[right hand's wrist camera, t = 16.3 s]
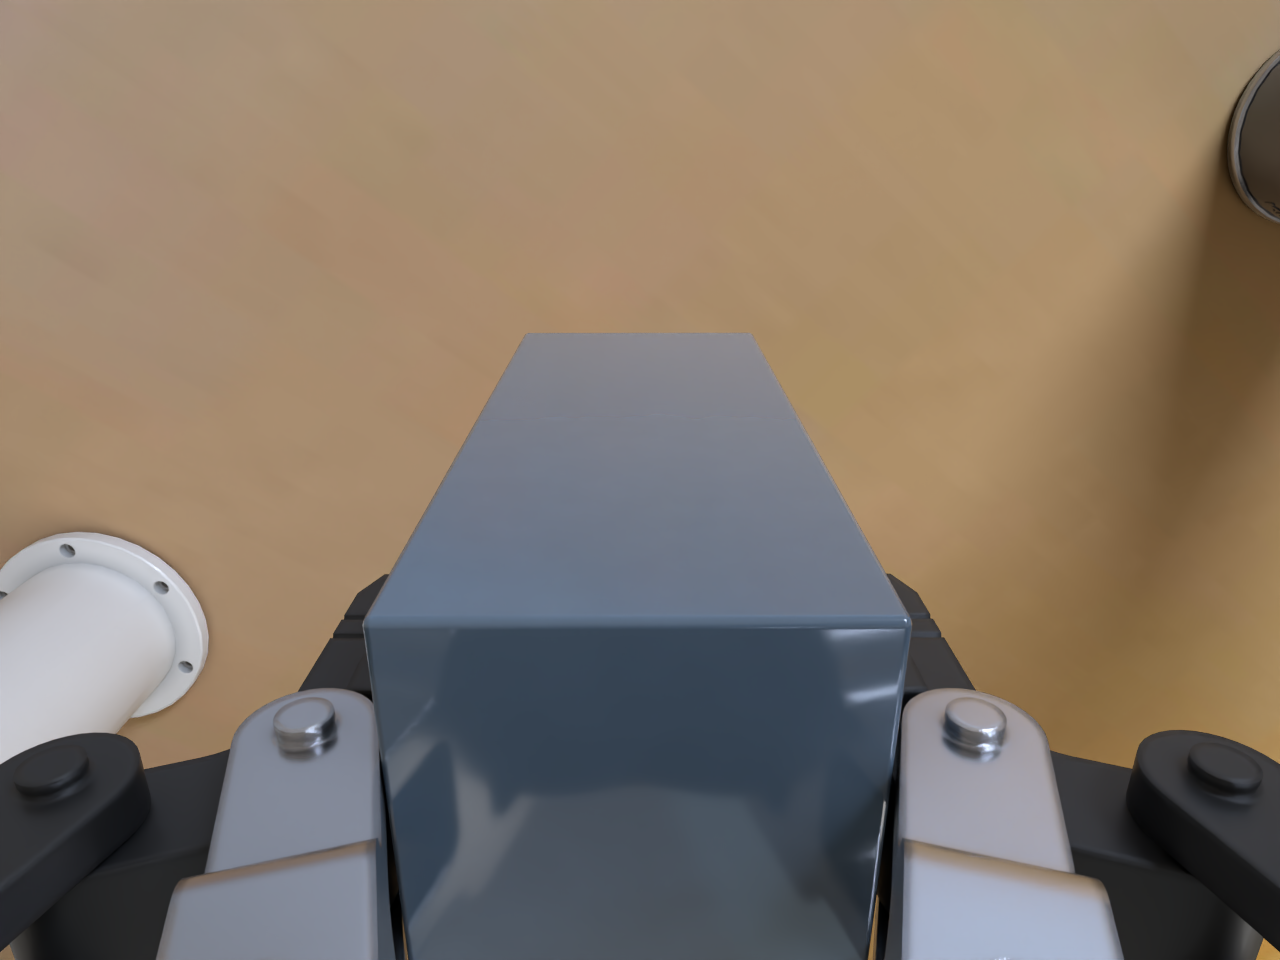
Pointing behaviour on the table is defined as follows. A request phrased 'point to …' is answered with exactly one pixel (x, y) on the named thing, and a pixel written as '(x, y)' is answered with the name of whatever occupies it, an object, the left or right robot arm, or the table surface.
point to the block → (637, 671)
